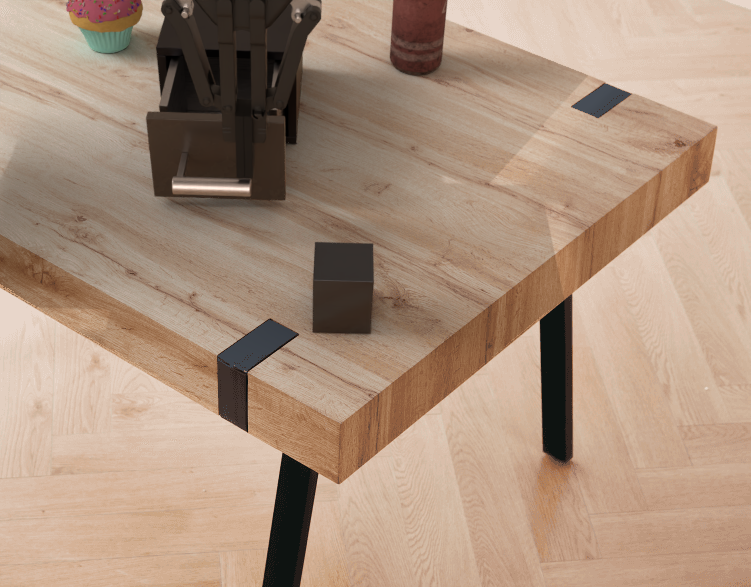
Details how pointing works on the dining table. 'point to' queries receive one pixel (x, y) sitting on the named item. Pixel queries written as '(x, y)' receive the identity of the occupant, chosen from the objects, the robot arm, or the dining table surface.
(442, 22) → the can
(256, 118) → the robot arm
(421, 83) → the dining table surface
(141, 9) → the cupcake
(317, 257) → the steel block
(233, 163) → the drawer
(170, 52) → the dark brown cabinet
